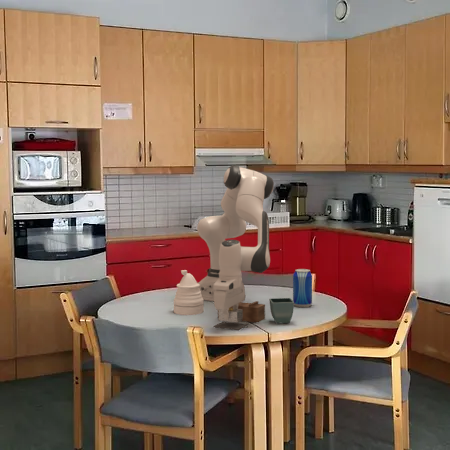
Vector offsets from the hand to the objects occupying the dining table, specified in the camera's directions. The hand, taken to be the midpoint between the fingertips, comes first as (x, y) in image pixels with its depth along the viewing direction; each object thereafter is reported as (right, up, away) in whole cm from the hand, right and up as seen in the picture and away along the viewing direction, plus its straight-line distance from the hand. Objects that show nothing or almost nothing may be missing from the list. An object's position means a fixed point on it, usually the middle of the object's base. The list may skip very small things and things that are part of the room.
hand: (230, 316), depth 268 cm
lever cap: (0, -1, 0) cm, 1 cm away
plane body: (+4, -3, +14) cm, 15 cm away
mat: (0, -4, 0) cm, 4 cm away
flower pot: (+20, -3, +7) cm, 22 cm away
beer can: (+32, 0, +38) cm, 50 cm away
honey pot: (-18, -2, +27) cm, 32 cm away
